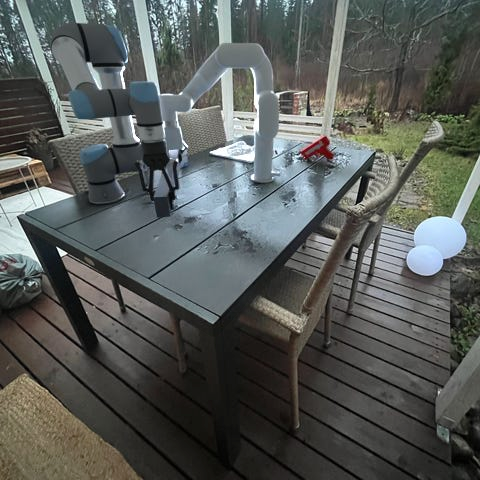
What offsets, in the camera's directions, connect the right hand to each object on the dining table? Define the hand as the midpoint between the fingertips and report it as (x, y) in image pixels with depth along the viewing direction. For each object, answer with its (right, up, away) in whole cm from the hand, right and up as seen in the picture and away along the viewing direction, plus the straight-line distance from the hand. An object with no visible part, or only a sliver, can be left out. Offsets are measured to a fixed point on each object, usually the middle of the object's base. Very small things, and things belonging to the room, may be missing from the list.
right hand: (175, 162), depth 137 cm
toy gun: (+82, +13, +39) cm, 92 cm away
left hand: (+6, -28, -41) cm, 50 cm away
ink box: (-4, +5, +28) cm, 29 cm away
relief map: (+34, +21, +52) cm, 65 cm away
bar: (+3, -15, -20) cm, 25 cm away
